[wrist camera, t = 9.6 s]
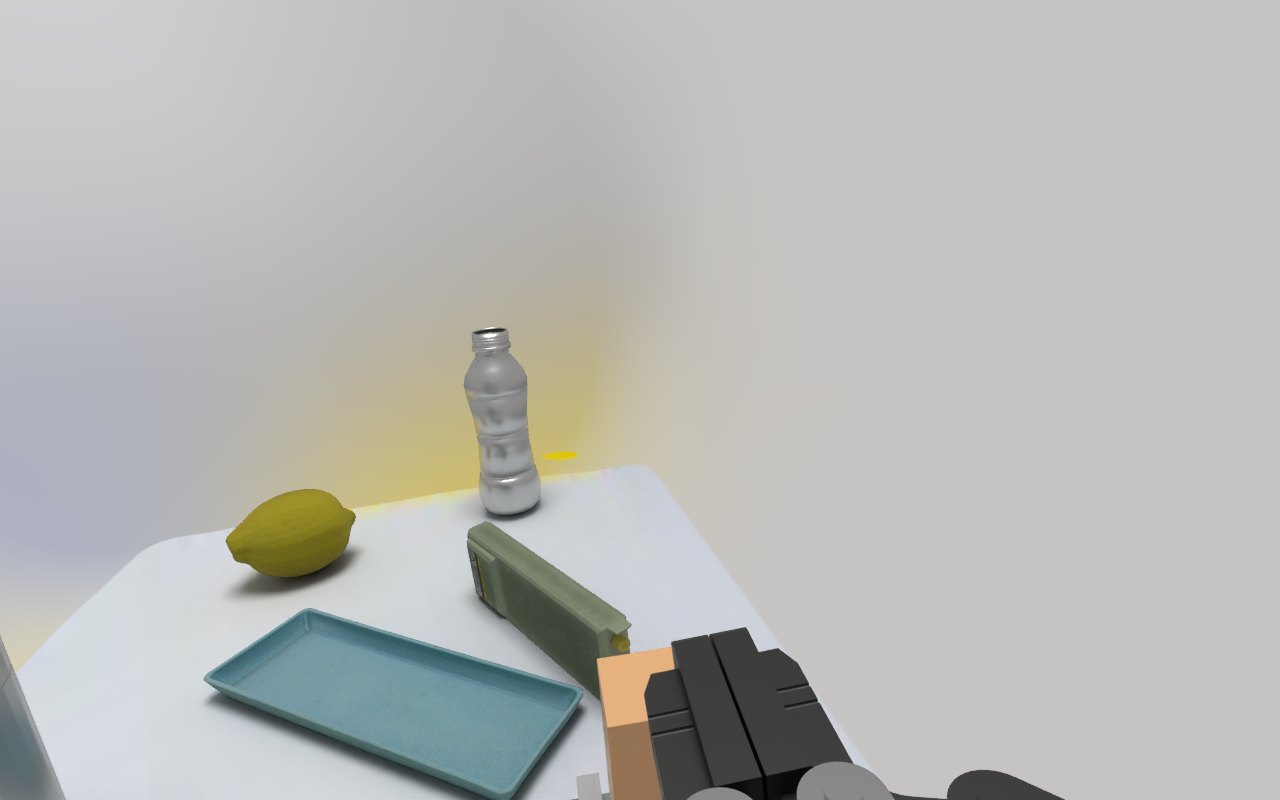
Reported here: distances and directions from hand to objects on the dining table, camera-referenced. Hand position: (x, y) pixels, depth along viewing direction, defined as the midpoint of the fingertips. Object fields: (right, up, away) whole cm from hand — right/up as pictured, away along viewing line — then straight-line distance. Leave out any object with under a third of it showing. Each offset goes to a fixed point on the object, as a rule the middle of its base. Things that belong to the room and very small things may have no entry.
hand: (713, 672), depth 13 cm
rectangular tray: (-19, -16, +34) cm, 42 cm away
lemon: (-34, -11, +52) cm, 63 cm away
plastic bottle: (-16, -7, +62) cm, 65 cm away
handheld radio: (-7, -14, +38) cm, 41 cm away
